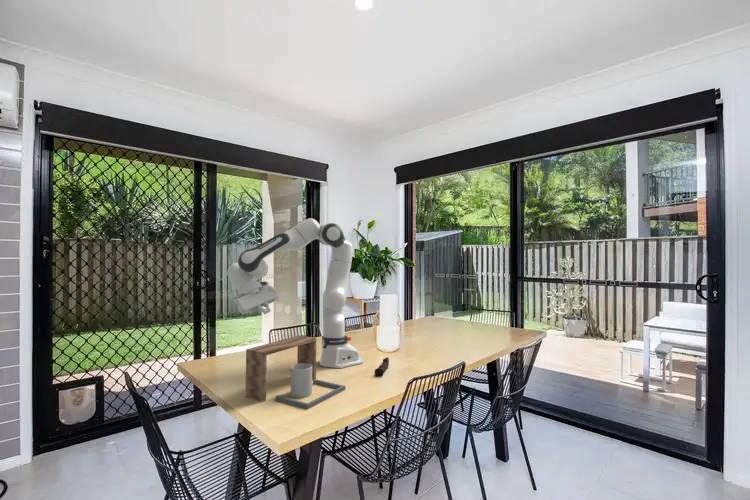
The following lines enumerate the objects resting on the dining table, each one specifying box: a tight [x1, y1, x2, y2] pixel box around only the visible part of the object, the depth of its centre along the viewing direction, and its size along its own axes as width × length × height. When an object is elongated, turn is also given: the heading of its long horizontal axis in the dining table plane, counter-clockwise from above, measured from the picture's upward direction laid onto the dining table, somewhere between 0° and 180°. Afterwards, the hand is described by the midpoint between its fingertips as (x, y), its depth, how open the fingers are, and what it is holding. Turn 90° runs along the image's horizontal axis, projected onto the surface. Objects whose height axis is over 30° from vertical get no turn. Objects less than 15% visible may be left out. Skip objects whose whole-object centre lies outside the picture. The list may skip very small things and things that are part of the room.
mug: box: [289, 363, 313, 399], centre depth 152 cm, size 12×8×11 cm
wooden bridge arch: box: [245, 335, 317, 403], centre depth 157 cm, size 10×30×18 cm, turn 149°
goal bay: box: [275, 378, 346, 410], centre depth 149 cm, size 16×23×2 cm
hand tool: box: [374, 356, 390, 377], centre depth 181 cm, size 19×4×5 cm, turn 163°
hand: (267, 312), depth 172 cm, fingers closed
